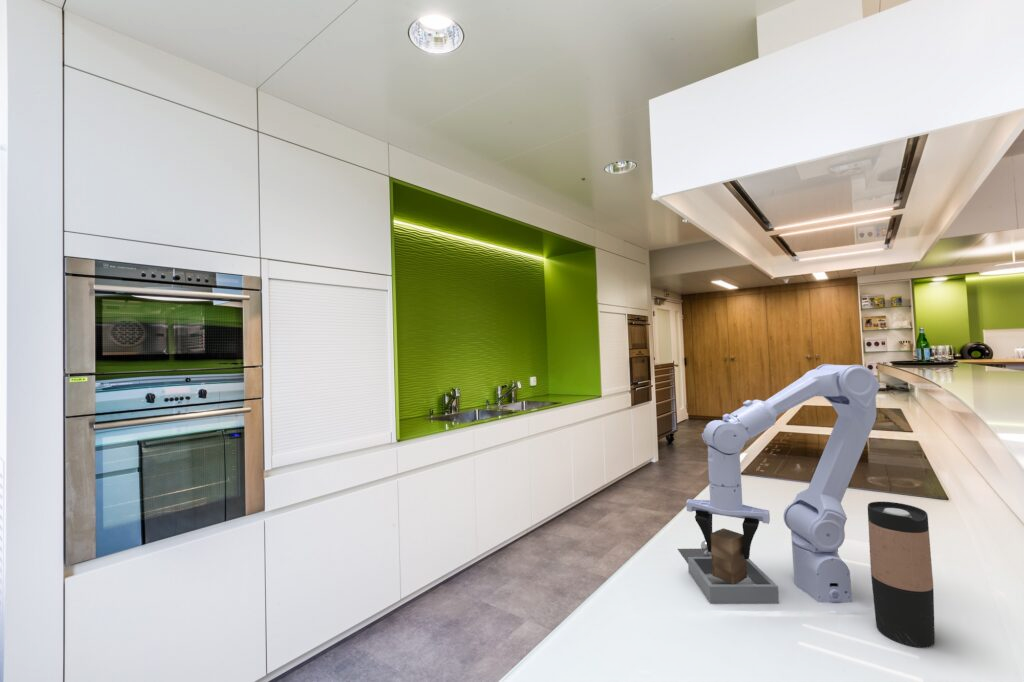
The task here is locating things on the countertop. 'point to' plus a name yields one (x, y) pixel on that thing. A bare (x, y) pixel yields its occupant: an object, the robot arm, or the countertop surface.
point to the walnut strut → (728, 556)
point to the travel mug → (901, 573)
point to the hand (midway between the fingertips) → (728, 553)
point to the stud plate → (695, 552)
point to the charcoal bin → (734, 585)
